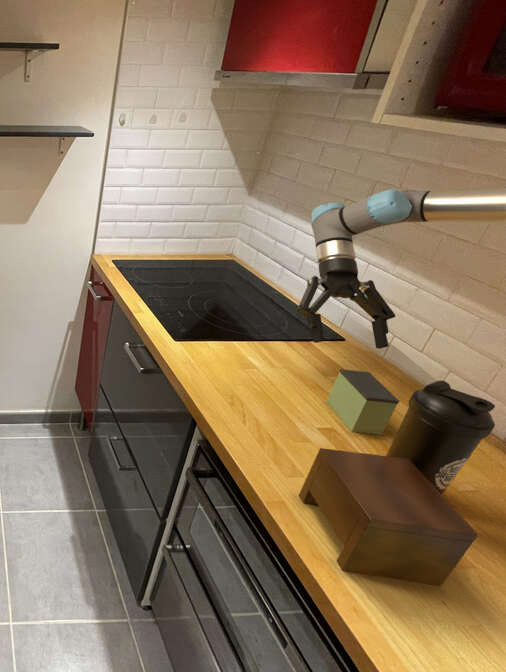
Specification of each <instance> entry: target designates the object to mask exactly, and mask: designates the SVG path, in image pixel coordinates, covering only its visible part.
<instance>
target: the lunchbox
mask: <svg viewBox="0 0 506 672" xmlns="http://www.w3.org/2000/svg"><path fill="white" fill-rule="evenodd" d="M326 403H327V404H328V405H329V407H330V408H331V409H332V410H333V411H334V412H335V414H336V415H337V416H338V417H339V418H340V420H341V421H342V422H343V423H344V425H345V426H346V427H347V428H348V429H349V431H350V432H351V433H360V434H369V435H376V436H377V435H378V436H382V435H383V433H384V431H385V429H386V427H387V426H388V424H389V422H390V419H391V418H392V416H393V414H394V412H395V410H396V408H397V406H398V404H400V400H399V399H398V398H397V397H396V396H395V395H394V394H393V393H392V392H391V391H390V390H389V389H388V388H387V387H386V386H385V385H383V384H382V383H381V382H380V380H378V379H377V378H376V377H375V376H374V375H373V374H372V373H371V372H370V371H362V370H353V369H340V370H339V372H338V375H337V377H336V380H335V381H334V383H333V385H332V388H331V391H330V393H329V395H328V398H327V399H326Z"/></svg>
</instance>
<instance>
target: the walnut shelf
mask: <svg viewBox="0 0 506 672" xmlns="http://www.w3.org/2000/svg"><path fill="white" fill-rule="evenodd" d="M298 497H299V498H300V501H301V502H302V503H304V504H311V505H318V507H319V509H320V511H321V513H322V514H323V515H324V517H325V518H326V520H327V522H328V524H329V525H330V528H332V530H333V532H334V534H335V535H336V536H337V539H339V541H340V543H341V545H342V546H343V548H342V550H341V551H340V553H339V554H338V556H337V559H336V563H337V564H338V566H339V568H340V570H342V571H344V572H351V573H357V574H363V575H370V576H374V577H375V576H376V577H381V578H387V579H395V580H399V581H400V580H401V581H407V582H413V583H418V584H419V583H420V584H426V585H433V586H437V587H438V586H439V587H441V586H442V585H443V584H444V583H445V581H446V580H447V578H448V577H449V576H450V574H452V572H453V571H454V569H455V568H456V566H457V565H458V564H459V562H460V561H461V560H462V558H463V557H464V556H465V555H466V553H467V551H468V550H469V549H470V547H471V546H472V545H473V543H474V541H476V539H477V538H478V536H479V534H478V532H476V531H475V529H474V528H473V527H472V526H471V525H470V523H468V522H467V521H466V520H465V518H464V517H463V516H462V515H461V514H460V513H459V512H458V511H457V510H456V509H455V507H454V506H453V505H452V504H451V503H450V502H449V501H448V499H446V497H444V496H443V494H442V495H441V494H440V493H439V491H438V490H437V489H436V488H435V487H434V486H433V485H432V484H431V483H430V482H429V481H428V480H427V478H426V477H425V476H424V475H423V474H422V473H421V472H420V471H419V470H418V469H417V468H416V466H415V465H414V464H413V463H412V462H411V461H410V460H409V459H404V458H396V457H388V456H386V455H379V454H371V453H363V452H357V451H356V452H355V451H347V450H339V449H330V448H323V447H320V448H319V450H318V451H317V454H316V456H315V458H314V460H313V463H312V465H311V466H310V469H309V471H308V474H307V476H306V478H305V480H304V482H303V484H302V488H301V489H300V492H299V494H298Z"/></svg>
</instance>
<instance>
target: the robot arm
mask: <svg viewBox="0 0 506 672" xmlns="http://www.w3.org/2000/svg"><path fill="white" fill-rule="evenodd" d="M432 222H433V223H435V222H436V223H439V222H440V223H445V222H446V223H506V186H497V187H477V188H457V189H456V188H455V189H435V190H434V189H433V190H416V189H415V190H414V189H413V190H403V191H401V190H399V189H397V188H391V189H386V190H384V191H380V192H376V193H374V194H372V195H370V196H368V197H366V198H363V199H361V200H358V201H356V202H353V203H351V204H348V205H345V204H344V203H341V202H328V203H327V204H325V203H323V204H321V205H318V206H316V207H314V209H313V210H312V211H311V228H312V232H313V236H314V243H315V251H316V258H317V263H318V272H319V277H318V276H317V275H313V276H311V277H310V278H308V279H307V281H306V284H307V285H306V288H305V291H304V293H303V295H302V297H301V299H300V302H299V304H298V307H297V309H296V311H297V313H302V315H303V316H304V317H306V320H307V326H308V329H311V332H312V341H313V343H314V344H318V343H320V342H324V341H325V335H324V329H323V323H322V315H321V313H317V312H318V311H319V310H320V309H321V308H322V307H323V305H324V304H325V303H326V302H327V301H328V300H329V299H330V298H331V297H332V298H334V299H335V298H342V299H348V300H350V301H351V302H354V303H356V304H357V305H358V306H359V308H361V309H362V310H363V311H364V312H365V313H366V314H367V315H368V316H369V317H371V318H372V320H373V321H371V327H372V333H373V339H374V343H375V349H378V350H381V349H384V348H388V347H389V341H388V337H387V336H388V334H389V325H388V320H391V319H393V318H395V317H396V314H395V312H394V311H393V310H392V308H391V307H390V306H389V304H388V303H387V302H386V300H385V299H384V297H383V296H382V295H381V294H380V292H379V291H378V290H377V288H376V284H375V282H374V281H373V280H372V279H370V280H366V281H360V279H359V277H358V276H359V269H358V262H357V260H356V257H357V255H356V251H355V247H354V243H353V236H356V235H359V234H362V233H365V232H368V231H371V230H374V229H377V228H382V227H387V226H391V225H396V224H402V223H432ZM319 286H321V287H322V288H323V291H322V292H321V293H320V294H319V296H318V297H317V299H315V301H314V302H313V303H312V304H311V302H312V301H313V299H314V297H315V294H316V292H317V290H318V287H319Z"/></svg>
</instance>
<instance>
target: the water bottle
mask: <svg viewBox="0 0 506 672" xmlns="http://www.w3.org/2000/svg"><path fill="white" fill-rule="evenodd" d="M495 407H496V405H495V404H494V403H492V402H491V401H489V400H487V399H485V398H482V397H478V396H474V395H471V394H468V393H466V392H462V391H459V390H457V389H453V388H451V385H450V384H449V383H448V382H447V381H446V380H437V381H433V382H432V383H429V384H426V385H425V386H424V387H423V388H422V389H418V390H415V391H414V392H413V393H412V395H411V396H410V399H409V400H408V409H407V411H406V413H405V415H404V417H403V419H402V421H401V423H400V425H399V428H398V430H397V432H396V434H395V436H394V438H393V440H392V442H391V444H390V447H389V449H388V451H387V452H386V455H385V456H388V457H396V458H404V459H409V460H410V461H411V462H412V463H413V464H414V465H415V466H416V468H417V469H418V470H419V471H420V472H421V473H422V474H423V475H424V476H425V477H426V478H427V480H428V481H429V482H430V483H431V484H432V485H433V486H434V487H435V488H436V489H437V490H438V491H439V493H440V494H441V495H442V496H443V494H444V493H445V491H446V490H447V489H448V488H449V487H450V485H451V484H452V482H453V481H454V480H455V479H456V477H457V476H458V474H459V473H460V471H461V470H462V469H463V468H464V466H465V464H467V462H468V461H469V459H470V457H472V454H473V453H474V451H475V450H476V449H477V448H478V446H479V444H480V443H481V442H482V440H483V439H486V438H487V437H489V436H490V435H491V433H492V432H493V430H494V428H495V426H496V424H495V421H494V419H493V415H492V414H491V413H490V412H491V411H493V410H494V409H495Z"/></svg>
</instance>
